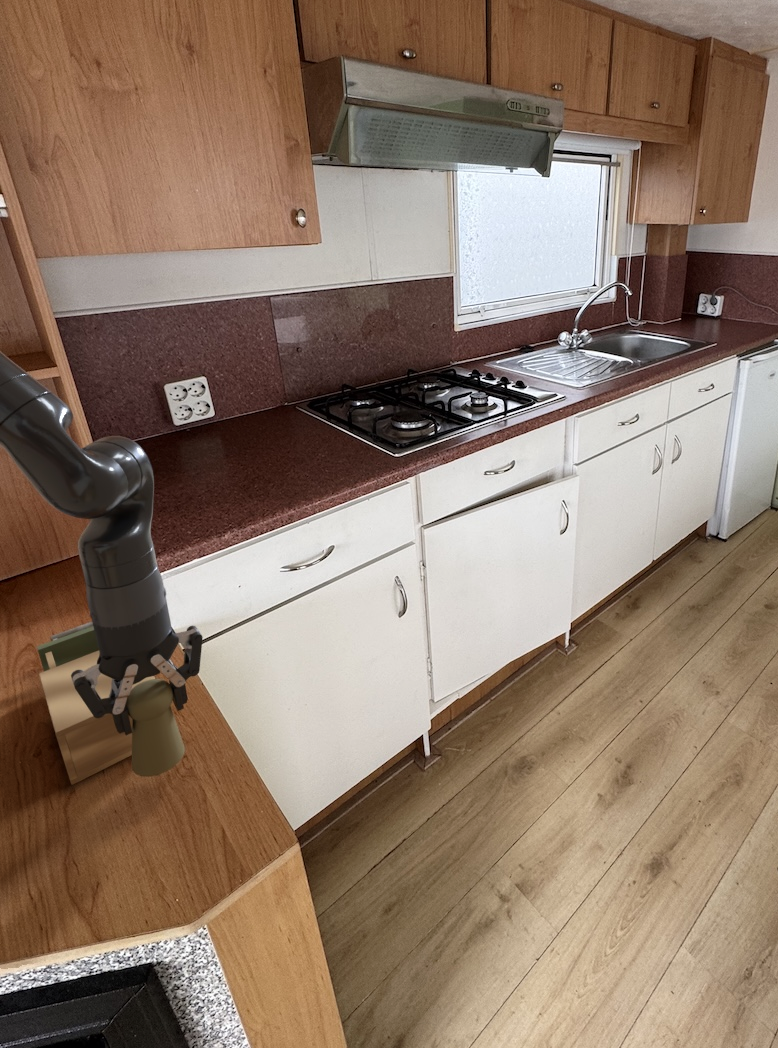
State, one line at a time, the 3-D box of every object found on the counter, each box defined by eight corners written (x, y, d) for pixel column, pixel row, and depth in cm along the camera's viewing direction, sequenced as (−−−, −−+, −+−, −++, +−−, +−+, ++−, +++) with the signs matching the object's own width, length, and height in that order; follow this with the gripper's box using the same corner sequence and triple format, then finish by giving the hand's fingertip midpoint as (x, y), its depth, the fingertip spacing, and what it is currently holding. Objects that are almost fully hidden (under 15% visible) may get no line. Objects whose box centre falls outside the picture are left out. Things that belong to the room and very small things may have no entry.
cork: (191, 758, 75) (182, 689, 72) (139, 785, 71) (126, 713, 68) (176, 731, 79) (166, 664, 76) (125, 755, 75) (113, 686, 72)
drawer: (42, 665, 97) (31, 629, 95) (117, 637, 104) (109, 602, 102) (62, 733, 84) (50, 693, 82) (146, 695, 91) (137, 657, 89)
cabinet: (53, 721, 87) (38, 673, 84) (144, 682, 95) (133, 636, 92) (71, 785, 77) (55, 733, 74) (170, 735, 85) (159, 686, 82)
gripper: (185, 570, 75) (203, 676, 81) (48, 614, 66) (80, 730, 71) (204, 596, 70) (222, 706, 76) (59, 647, 61) (92, 769, 66)
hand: (153, 717), depth 73 cm, fingers closed on cork, 5 cm apart
